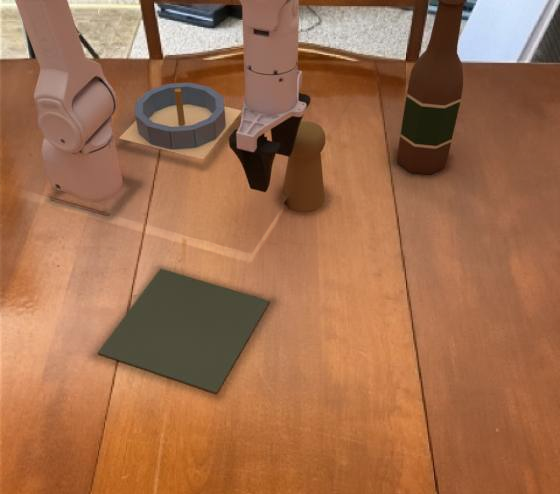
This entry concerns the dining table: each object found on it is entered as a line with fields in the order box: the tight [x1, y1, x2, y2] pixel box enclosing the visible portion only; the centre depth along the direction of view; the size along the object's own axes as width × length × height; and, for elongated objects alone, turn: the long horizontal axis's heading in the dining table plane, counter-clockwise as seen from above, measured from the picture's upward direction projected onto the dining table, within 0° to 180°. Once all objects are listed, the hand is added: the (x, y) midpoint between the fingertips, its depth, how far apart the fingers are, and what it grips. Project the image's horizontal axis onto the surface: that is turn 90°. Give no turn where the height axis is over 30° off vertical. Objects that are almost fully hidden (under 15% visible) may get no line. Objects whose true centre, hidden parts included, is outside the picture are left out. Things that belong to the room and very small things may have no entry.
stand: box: [118, 88, 242, 160], centre depth 102 cm, size 14×14×7 cm
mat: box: [97, 268, 271, 395], centre depth 80 cm, size 15×15×1 cm
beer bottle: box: [396, 0, 468, 175], centre depth 91 cm, size 8×8×24 cm
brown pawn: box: [282, 120, 326, 213], centre depth 91 cm, size 6×6×11 cm
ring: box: [134, 81, 226, 149], centre depth 103 cm, size 13×13×3 cm
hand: (271, 170), depth 83 cm, fingers open, 7 cm apart
